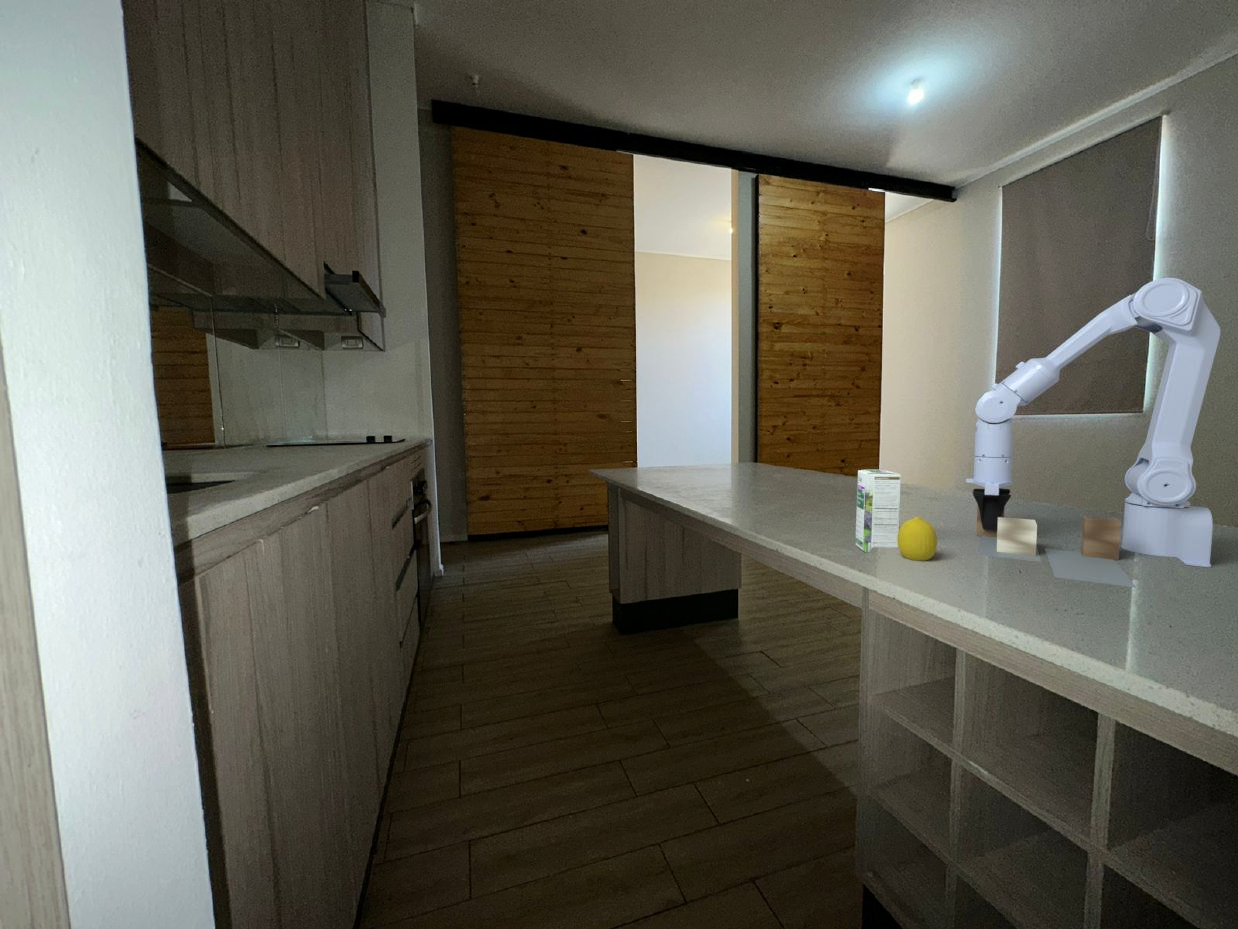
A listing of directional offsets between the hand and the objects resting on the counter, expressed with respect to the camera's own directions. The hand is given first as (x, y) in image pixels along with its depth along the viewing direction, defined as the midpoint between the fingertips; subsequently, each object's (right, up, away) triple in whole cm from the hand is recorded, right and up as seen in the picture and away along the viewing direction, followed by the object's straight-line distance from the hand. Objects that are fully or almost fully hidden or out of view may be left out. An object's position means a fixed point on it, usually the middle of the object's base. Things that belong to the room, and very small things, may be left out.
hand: (990, 527), depth 94 cm
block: (-3, -2, -10) cm, 11 cm away
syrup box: (-23, -4, -3) cm, 24 cm away
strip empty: (0, -4, -19) cm, 20 cm away
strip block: (-2, -3, -7) cm, 8 cm away
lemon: (-22, -5, -13) cm, 26 cm away
